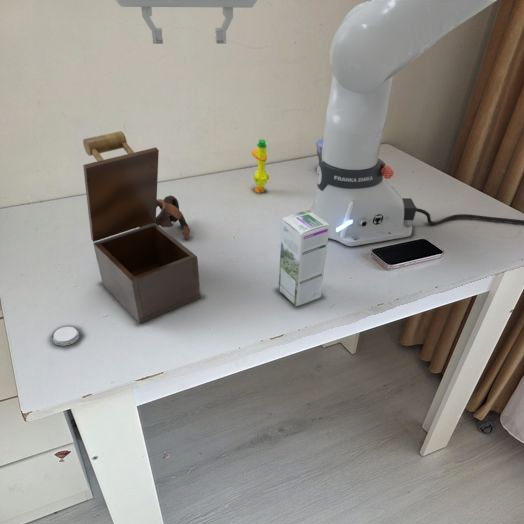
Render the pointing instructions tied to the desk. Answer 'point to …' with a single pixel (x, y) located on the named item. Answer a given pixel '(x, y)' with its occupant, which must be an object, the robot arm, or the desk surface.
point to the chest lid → (119, 186)
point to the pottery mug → (170, 215)
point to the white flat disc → (65, 335)
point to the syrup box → (302, 257)
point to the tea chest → (148, 271)
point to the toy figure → (260, 166)
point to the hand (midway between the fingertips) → (189, 43)
